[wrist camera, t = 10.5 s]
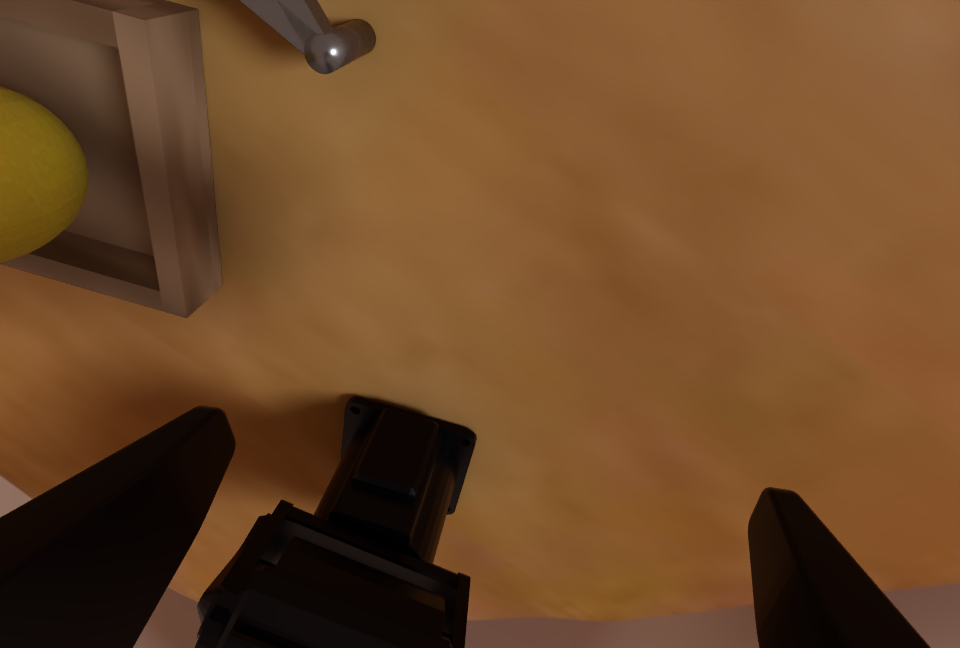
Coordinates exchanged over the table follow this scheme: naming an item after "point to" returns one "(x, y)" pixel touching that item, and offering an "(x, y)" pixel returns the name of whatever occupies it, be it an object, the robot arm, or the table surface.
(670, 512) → the table surface
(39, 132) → the lemon
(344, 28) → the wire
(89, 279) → the tray
